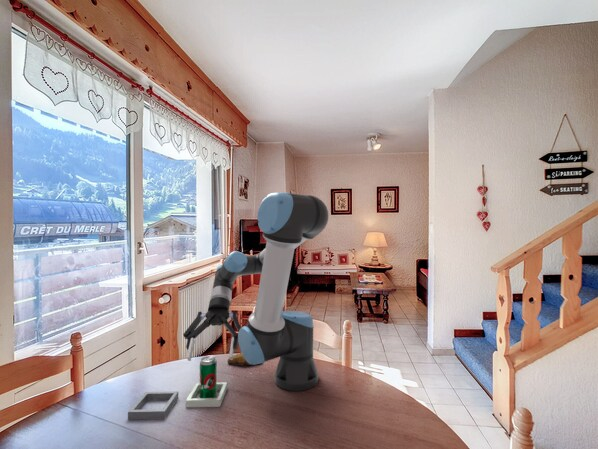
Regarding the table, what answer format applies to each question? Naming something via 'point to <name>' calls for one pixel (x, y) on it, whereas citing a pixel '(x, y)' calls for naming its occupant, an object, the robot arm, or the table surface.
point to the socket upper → (153, 413)
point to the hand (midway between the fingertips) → (209, 358)
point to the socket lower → (206, 402)
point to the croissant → (238, 360)
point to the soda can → (208, 377)
